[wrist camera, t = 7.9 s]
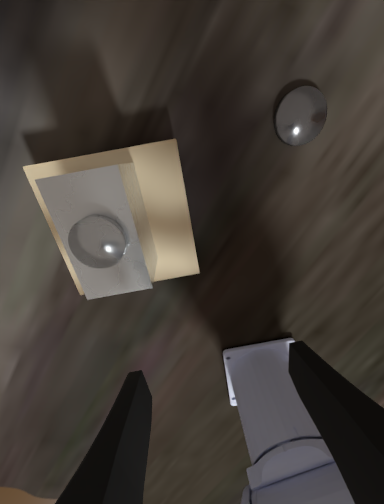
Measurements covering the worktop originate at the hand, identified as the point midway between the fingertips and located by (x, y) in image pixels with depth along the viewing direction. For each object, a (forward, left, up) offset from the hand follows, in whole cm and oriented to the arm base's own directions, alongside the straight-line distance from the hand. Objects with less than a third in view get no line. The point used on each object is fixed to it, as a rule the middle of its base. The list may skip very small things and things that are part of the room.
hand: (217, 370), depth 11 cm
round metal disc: (+11, -9, -11) cm, 18 cm away
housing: (+6, +5, -8) cm, 12 cm away
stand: (+6, +5, -10) cm, 13 cm away
